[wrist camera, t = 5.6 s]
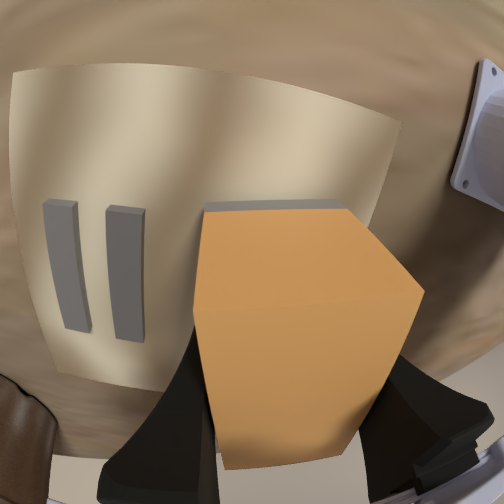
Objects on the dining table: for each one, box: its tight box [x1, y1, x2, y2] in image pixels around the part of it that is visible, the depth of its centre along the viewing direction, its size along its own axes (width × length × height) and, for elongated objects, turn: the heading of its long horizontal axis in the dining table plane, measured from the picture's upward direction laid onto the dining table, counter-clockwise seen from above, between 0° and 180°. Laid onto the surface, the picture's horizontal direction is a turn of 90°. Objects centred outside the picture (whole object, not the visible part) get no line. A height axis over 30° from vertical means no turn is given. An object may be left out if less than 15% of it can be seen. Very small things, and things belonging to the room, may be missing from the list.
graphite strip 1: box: [42, 198, 93, 334], centre depth 12 cm, size 2×7×1 cm, turn 168°
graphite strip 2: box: [105, 205, 146, 343], centre depth 12 cm, size 2×7×1 cm, turn 168°
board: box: [9, 63, 402, 392], centre depth 14 cm, size 16×18×2 cm
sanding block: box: [193, 199, 425, 470], centre depth 10 cm, size 5×9×6 cm, turn 0°
